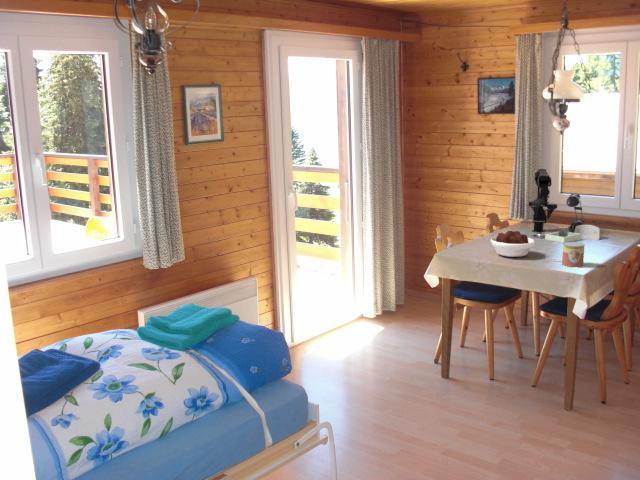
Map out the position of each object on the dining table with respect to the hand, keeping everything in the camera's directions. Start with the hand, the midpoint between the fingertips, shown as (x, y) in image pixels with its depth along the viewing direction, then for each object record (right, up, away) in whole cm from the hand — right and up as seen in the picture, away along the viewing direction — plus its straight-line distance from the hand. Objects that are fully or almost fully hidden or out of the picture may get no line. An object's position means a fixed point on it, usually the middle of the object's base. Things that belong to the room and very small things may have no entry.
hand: (542, 218), depth 475 cm
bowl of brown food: (-33, -24, -48) cm, 63 cm away
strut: (+12, -14, -6) cm, 19 cm away
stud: (0, -12, +5) cm, 13 cm away
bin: (+12, -14, -6) cm, 20 cm away
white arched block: (+29, -13, 0) cm, 32 cm away
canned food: (-5, -29, -72) cm, 78 cm away
